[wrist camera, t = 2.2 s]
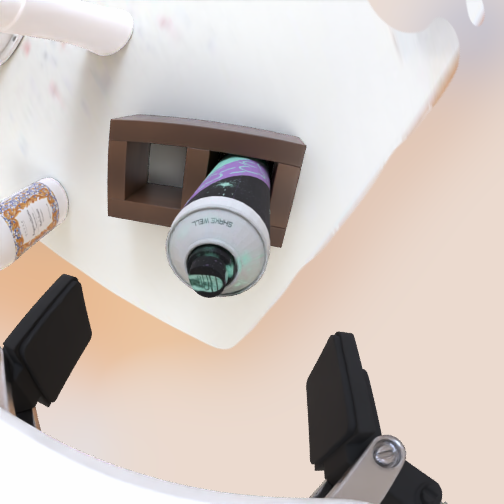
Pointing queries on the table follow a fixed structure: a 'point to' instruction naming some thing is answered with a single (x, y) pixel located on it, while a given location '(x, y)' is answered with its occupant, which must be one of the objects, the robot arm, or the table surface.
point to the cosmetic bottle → (68, 23)
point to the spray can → (224, 229)
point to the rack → (194, 166)
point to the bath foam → (30, 217)
